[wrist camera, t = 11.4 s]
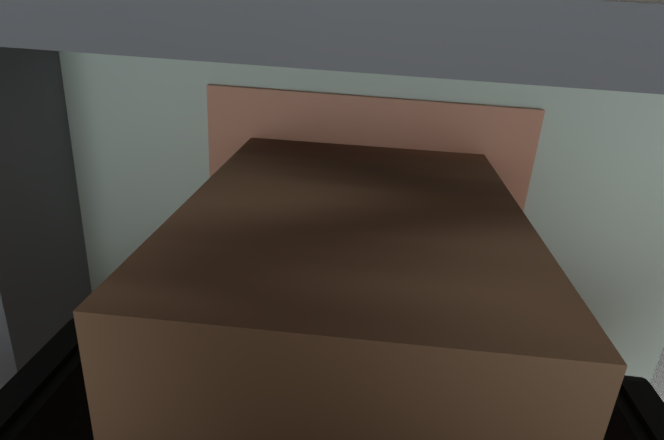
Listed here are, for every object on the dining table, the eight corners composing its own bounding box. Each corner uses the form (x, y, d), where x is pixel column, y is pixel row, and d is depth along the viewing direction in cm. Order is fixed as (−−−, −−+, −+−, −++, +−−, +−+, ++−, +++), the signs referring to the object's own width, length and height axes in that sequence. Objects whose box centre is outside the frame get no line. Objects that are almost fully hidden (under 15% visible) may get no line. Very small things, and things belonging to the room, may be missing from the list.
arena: (540, 625, 18) (580, 782, 15) (114, 567, 19) (50, 700, 16) (749, 16, 11) (945, 21, 7) (22, -29, 12) (-147, -46, 8)
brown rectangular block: (484, 154, 11) (627, 366, 4) (431, 469, 14) (469, 844, 8) (251, 137, 11) (73, 311, 5) (253, 449, 15) (152, 793, 8)
